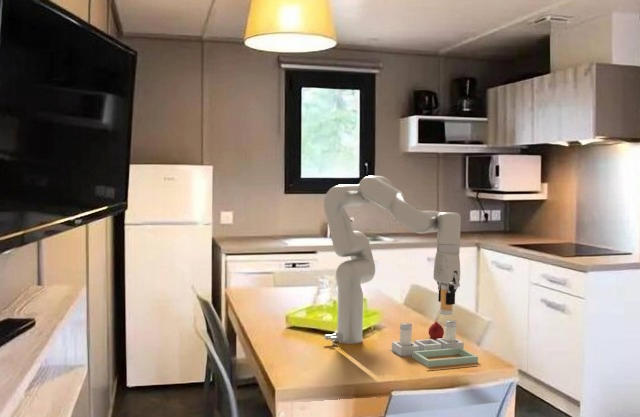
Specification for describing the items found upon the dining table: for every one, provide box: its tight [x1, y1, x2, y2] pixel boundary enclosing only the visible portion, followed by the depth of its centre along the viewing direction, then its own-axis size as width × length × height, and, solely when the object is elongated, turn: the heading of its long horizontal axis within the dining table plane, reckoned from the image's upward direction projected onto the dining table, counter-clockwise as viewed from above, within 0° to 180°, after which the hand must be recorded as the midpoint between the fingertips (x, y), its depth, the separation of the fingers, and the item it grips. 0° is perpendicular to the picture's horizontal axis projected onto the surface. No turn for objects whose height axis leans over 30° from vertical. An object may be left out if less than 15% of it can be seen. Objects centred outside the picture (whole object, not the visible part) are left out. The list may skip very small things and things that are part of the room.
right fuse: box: [444, 319, 458, 343], centre depth 221 cm, size 4×4×10 cm
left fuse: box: [399, 322, 413, 346], centre depth 216 cm, size 4×4×10 cm
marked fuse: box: [439, 283, 454, 316], centre depth 207 cm, size 4×4×10 cm
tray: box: [411, 348, 479, 372], centre depth 208 cm, size 19×11×4 cm, turn 109°
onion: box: [428, 320, 445, 340], centre depth 237 cm, size 6×6×8 cm
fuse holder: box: [389, 337, 465, 358], centre depth 219 cm, size 26×9×4 cm, turn 109°
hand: (446, 302), depth 207 cm, fingers closed on marked fuse, 4 cm apart
